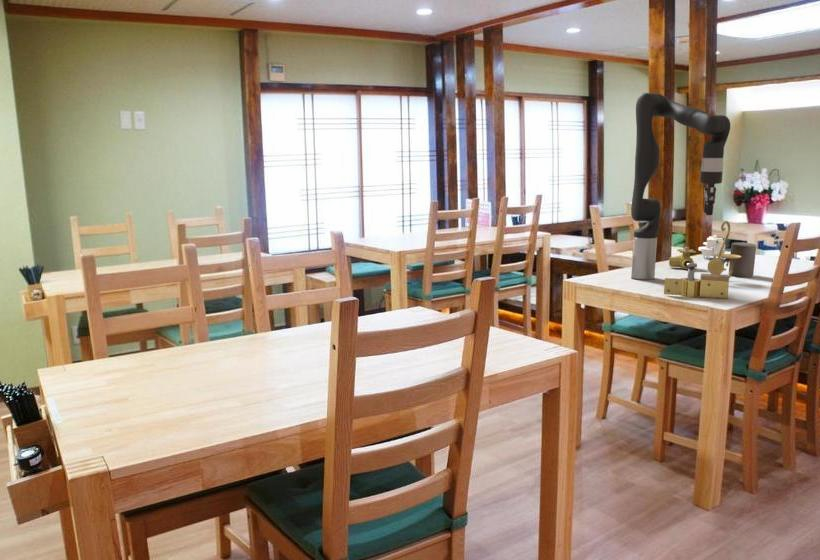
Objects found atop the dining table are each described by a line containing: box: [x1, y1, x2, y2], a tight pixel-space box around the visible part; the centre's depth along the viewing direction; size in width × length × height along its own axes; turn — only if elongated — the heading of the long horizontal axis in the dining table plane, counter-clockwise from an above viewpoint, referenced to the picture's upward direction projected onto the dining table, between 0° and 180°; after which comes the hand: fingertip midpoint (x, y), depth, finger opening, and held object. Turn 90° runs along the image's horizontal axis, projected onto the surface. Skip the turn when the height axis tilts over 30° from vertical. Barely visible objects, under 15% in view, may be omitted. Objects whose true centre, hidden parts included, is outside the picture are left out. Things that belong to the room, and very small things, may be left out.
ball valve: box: [668, 246, 697, 270], centre depth 306 cm, size 13×10×10 cm
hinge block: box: [663, 273, 730, 300], centre depth 247 cm, size 22×7×8 cm, turn 72°
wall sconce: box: [707, 220, 741, 279], centre depth 271 cm, size 14×10×25 cm
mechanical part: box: [698, 234, 726, 260], centre depth 331 cm, size 11×12×12 cm
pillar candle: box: [727, 240, 757, 278], centre depth 286 cm, size 10×10×15 cm
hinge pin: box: [686, 262, 698, 281], centre depth 247 cm, size 4×4×12 cm
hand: (708, 213), depth 253 cm, fingers open, 8 cm apart
